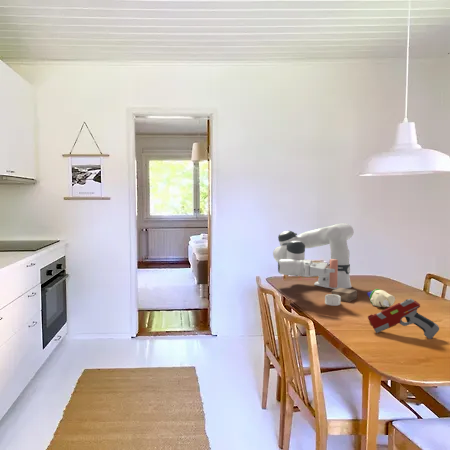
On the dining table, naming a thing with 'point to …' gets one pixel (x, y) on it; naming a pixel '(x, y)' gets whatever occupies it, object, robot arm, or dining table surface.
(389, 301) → the cartoon head
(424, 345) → the dining table surface
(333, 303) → the white nut
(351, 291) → the stand
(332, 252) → the robot arm
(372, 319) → the toy gun
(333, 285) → the dowel
